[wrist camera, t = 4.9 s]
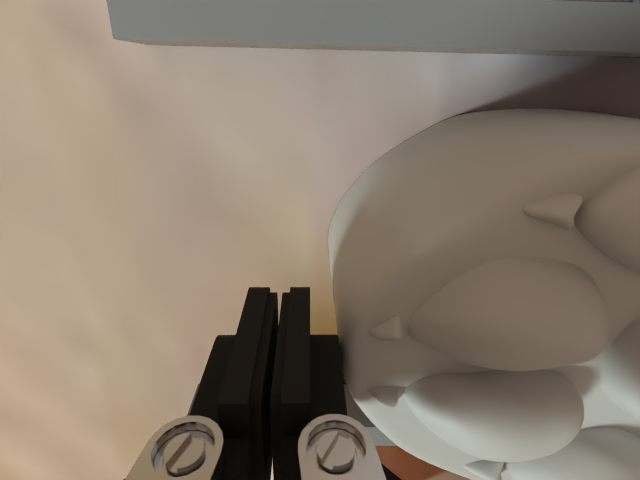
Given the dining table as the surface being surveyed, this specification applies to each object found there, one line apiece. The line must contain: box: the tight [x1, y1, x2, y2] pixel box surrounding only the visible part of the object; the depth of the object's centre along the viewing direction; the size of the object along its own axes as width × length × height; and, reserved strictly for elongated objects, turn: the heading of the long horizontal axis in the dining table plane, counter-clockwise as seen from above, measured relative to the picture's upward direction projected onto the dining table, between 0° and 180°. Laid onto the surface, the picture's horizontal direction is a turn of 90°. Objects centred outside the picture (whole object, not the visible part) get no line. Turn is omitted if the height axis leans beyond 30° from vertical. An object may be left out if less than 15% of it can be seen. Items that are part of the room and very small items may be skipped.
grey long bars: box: [107, 0, 640, 446], centre depth 15 cm, size 28×17×2 cm, turn 89°
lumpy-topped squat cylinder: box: [328, 108, 640, 480], centre depth 12 cm, size 10×13×9 cm
